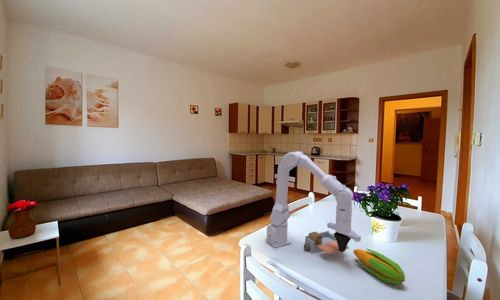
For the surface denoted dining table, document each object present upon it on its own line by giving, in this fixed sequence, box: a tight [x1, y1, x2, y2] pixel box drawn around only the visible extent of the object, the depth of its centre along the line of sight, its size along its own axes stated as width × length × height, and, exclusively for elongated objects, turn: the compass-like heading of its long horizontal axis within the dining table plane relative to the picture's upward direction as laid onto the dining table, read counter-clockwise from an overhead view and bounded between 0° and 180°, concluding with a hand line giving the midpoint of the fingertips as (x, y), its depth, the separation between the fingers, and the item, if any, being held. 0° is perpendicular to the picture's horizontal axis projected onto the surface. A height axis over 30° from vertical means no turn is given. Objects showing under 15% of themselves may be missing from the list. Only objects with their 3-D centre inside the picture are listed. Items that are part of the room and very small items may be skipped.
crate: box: [308, 231, 322, 246], centre depth 96 cm, size 4×4×4 cm
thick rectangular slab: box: [318, 241, 349, 256], centre depth 92 cm, size 11×1×6 cm
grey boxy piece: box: [303, 230, 336, 254], centre depth 98 cm, size 16×5×6 cm, turn 117°
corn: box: [352, 248, 406, 285], centre depth 81 cm, size 7×8×20 cm
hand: (341, 251), depth 88 cm, fingers closed
